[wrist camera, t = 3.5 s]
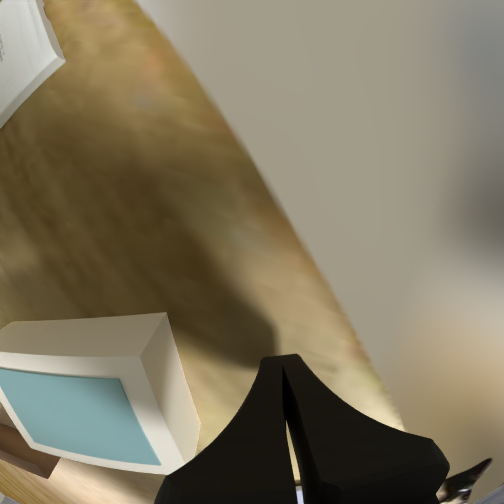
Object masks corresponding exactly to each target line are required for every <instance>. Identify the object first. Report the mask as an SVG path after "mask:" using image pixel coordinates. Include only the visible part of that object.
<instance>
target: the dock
mask: <svg viewBox="0 0 504 504" xmlns="http://www.w3.org/2000/svg"><path fill="white" fill-rule="evenodd" d="M60 458H61V457H59V456H55V455H52V454H48V453H45V452H42V451H38V450H35V449H32V448H30V446H29V445H28V443H27V442H26V441H25V439H24V438H23V436H22V435H21V433H20V432H19V431H18V430H15V429H12V428H10V427H7V426H4V425H2V424H0V459H2V460H4V461H6V462H8V463H10V464H12V465H15V466H17V467H19V468H21V469H24V470H26V471H28V472H31V473H33V474H36V475H38V476H41V477H43V478H46V479H48V478H49V477H50V475H51V473H52V471H53V470H54V468H55V466H56V464H57V463H58V461H59V459H60Z"/></svg>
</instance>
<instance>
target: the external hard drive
mask: <svg viewBox="0 0 504 504" xmlns="http://www.w3.org/2000/svg"><path fill="white" fill-rule="evenodd" d="M43 8H44V3H43V0H2V1H1V2H0V129H1V128H2V127H3V125H4V124H5V123H6V122H7V121H8V119H9V118H10V117H11V116H12V115H13V114H14V112H15V111H16V110H17V109H18V108H19V107H20V106H21V105H22V104H23V103H24V101H25V100H26V99H27V98H28V97H29V96H30V95H31V94H32V93H33V92H34V91H35V90H36V89H37V88H38V87H39V86H40V85H41V84H42V83H43V82H44V81H45V80H46V79H47V78H48V77H50V76H51V75H52V74H53V73H54V72H55V71H56V70H57V69H58V68H59V67H61V66H62V65H63V64H64V63H65V62H66V60H65V58H64V56H63V53H62V51H61V48H60V46H59V43H58V41H57V38H56V36H55V33H54V31H53V28H52V26H51V23H50V21H49V20H48V19H47V17H46V15H45V12H44V9H43Z"/></svg>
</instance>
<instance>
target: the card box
mask: <svg viewBox="0 0 504 504" xmlns="http://www.w3.org/2000/svg"><path fill="white" fill-rule="evenodd" d="M0 402H1V403H2V405H3V407H4V408H5V410H6V412H7V413H8V415H9V417H10V418H11V420H12V421H13V423H14V424H15V426H16V427H17V429H18V430H19V432H20V433H21V435H22V436H23V438H24V439H25V441H26V442H27V443H28V445H29V446H30V448H32V449H35V450H38V451H42V452H45V453H48V454H52V455H55V456H59V457H62V458H66V459H70V460H74V461H79V462H83V463H88V464H92V465H97V466H103V467H108V468H114V469H120V470H127V471H135V472H143V473H153V474H165V475H169V474H171V473H173V472H174V471H176V470H177V469H179V468H180V467H182V466H183V465H185V464H186V463H188V462H189V461H190V460H192V459H193V458H194V457H195V454H196V449H197V443H198V438H199V433H200V427H201V423H200V420H199V417H198V414H197V412H196V409H195V406H194V403H193V400H192V397H191V394H190V391H189V388H188V385H187V381H186V378H185V375H184V372H183V369H182V365H181V362H180V359H179V355H178V352H177V348H176V345H175V341H174V338H173V334H172V331H171V327H170V323H169V319H168V315H167V312H162V313H151V314H139V315H127V316H114V317H100V318H84V319H65V320H41V321H12V322H10V323H9V324H7V325H6V326H4V327H3V328H2V329H0Z"/></svg>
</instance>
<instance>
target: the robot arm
mask: <svg viewBox="0 0 504 504" xmlns="http://www.w3.org/2000/svg"><path fill="white" fill-rule="evenodd" d="M286 420H287V424H288V428H289V432H290V436H291V440H292V444H293V448H294V452H295V455H296V459H297V463H298V468H299V473H300V480H301V486H296V485H295V480H294V475H293V469H292V464H291V458H290V452H289V447H288V441H287V434H286ZM449 470H450V465H449V462H448V461H447V459H446V457H445V456H444V454H443V453H442V451H441V450H440V449H439V447H438V446H437V445H436V444H435V443H434V441H433V440H432V439H430V438H426V437H422V436H418V435H414V434H410V433H406V432H403V431H400V430H398V429H395V428H392V427H390V426H387V425H385V424H382V423H380V422H378V421H376V420H374V419H372V418H370V417H368V416H366V415H364V414H363V413H361V412H359V411H358V410H356V409H354V408H353V407H352V406H350V405H349V404H347V403H346V402H344V401H343V400H342V399H341V398H339V397H338V396H337V395H336V394H335V393H333V392H332V391H331V390H330V389H329V388H328V387H327V386H326V385H325V384H324V383H323V382H322V381H321V380H320V379H319V378H318V377H317V376H316V375H315V374H314V373H313V372H312V371H311V370H310V368H309V367H308V366H307V365H306V364H305V362H304V361H303V360H302V358H301V357H300V356H299V355H298V354H290V355H281V356H272V357H264V358H263V359H262V360H261V363H260V367H259V371H258V373H257V376H256V379H255V381H254V383H253V385H252V387H251V390H250V392H249V394H248V395H247V397H246V399H245V400H244V402H243V404H242V406H241V407H240V409H239V410H238V412H237V413H236V415H235V416H234V417H233V419H232V420H231V421H230V423H229V424H228V425H227V426H226V428H225V429H224V430H223V431H222V432H221V433H220V434H219V435H218V437H217V438H216V439H215V440H214V441H213V442H212V443H211V444H209V445H208V446H207V447H206V448H205V449H204V450H203V451H201V452H200V453H199V454H198V455H197V456H196V457H194V458H193V459H192V460H190V461H189V462H188V463H186V464H185V465H183V466H182V467H180V468H179V469H177V470H176V471H174V472H173V473H171V474H169V475H167V476H166V477H165V479H164V481H163V483H162V485H161V487H160V490H159V492H158V494H157V496H156V499H155V503H154V504H439V500H438V498H437V496H436V493H437V491H438V490H439V488H440V487H441V485H442V483H443V482H444V480H445V479H446V476H447V474H448V472H449ZM1 504H20V503H18V502H16V501H15V500H13V499H11V498H9V497H7V496H5V497H4V499H3V501H2V502H1ZM472 504H504V484H503V485H502V486H500V487H499V488H497V489H496V490H494V491H493V492H491V493H489V494H488V495H486V496H485V497H483V498H481V499H479V500H478V501H476V502H474V503H472Z"/></svg>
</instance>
